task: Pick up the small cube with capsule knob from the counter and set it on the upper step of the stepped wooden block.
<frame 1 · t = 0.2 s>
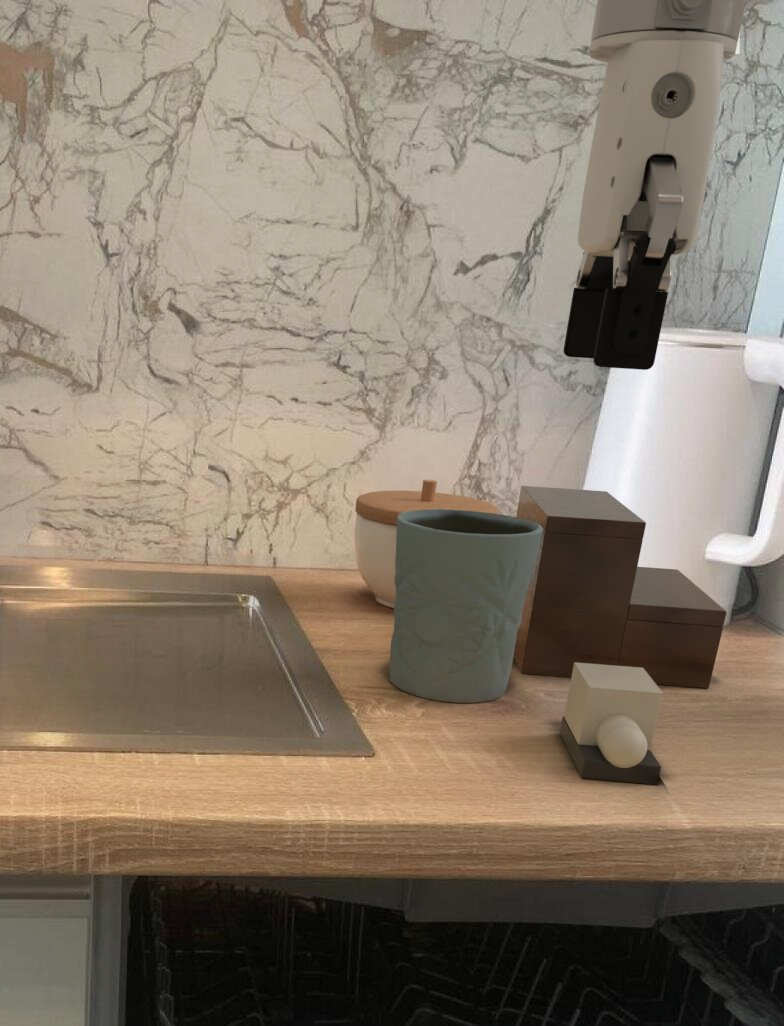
hand: (604, 362, 71), 23 cm above the countertop, tool pointing down, fingers open, 9 cm apart
stepped wooden block: (596, 654, 97), on the countertop
cube with capsule knob: (605, 757, 76), on the countertop
lidded bowl: (414, 604, 110), on the countertop
grey-green ceramic cup: (445, 685, 88), on the countertop
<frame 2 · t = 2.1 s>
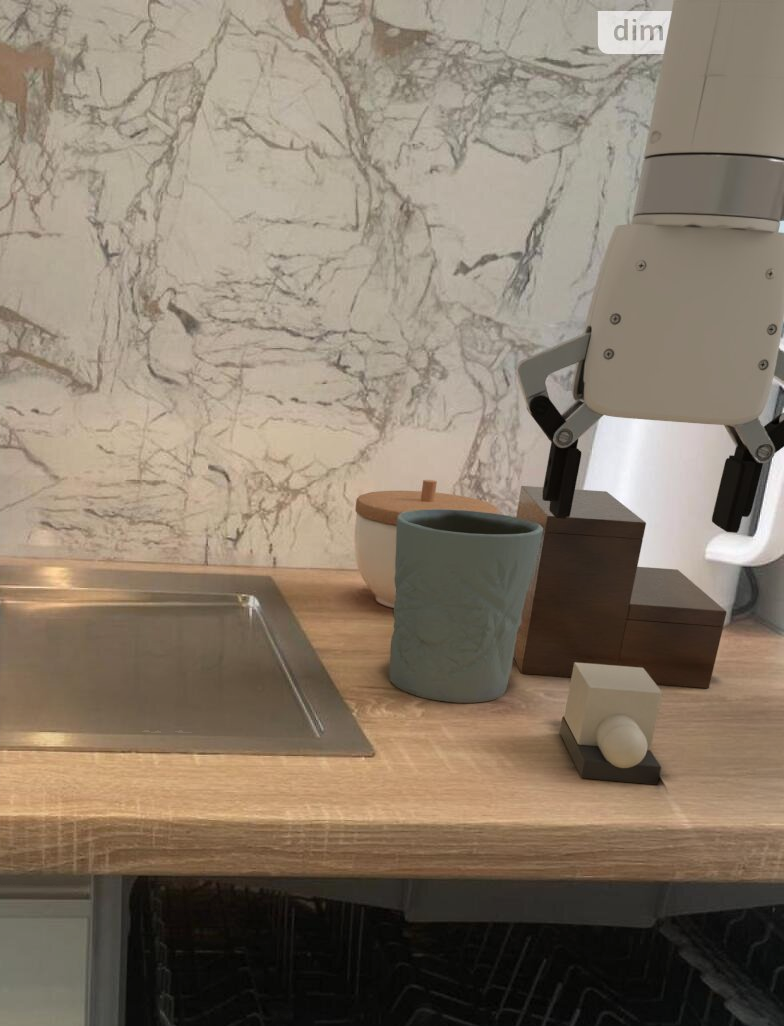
hand: (640, 521, 71), 15 cm above the countertop, tool pointing down, fingers open, 9 cm apart
nothing on the countertop moved.
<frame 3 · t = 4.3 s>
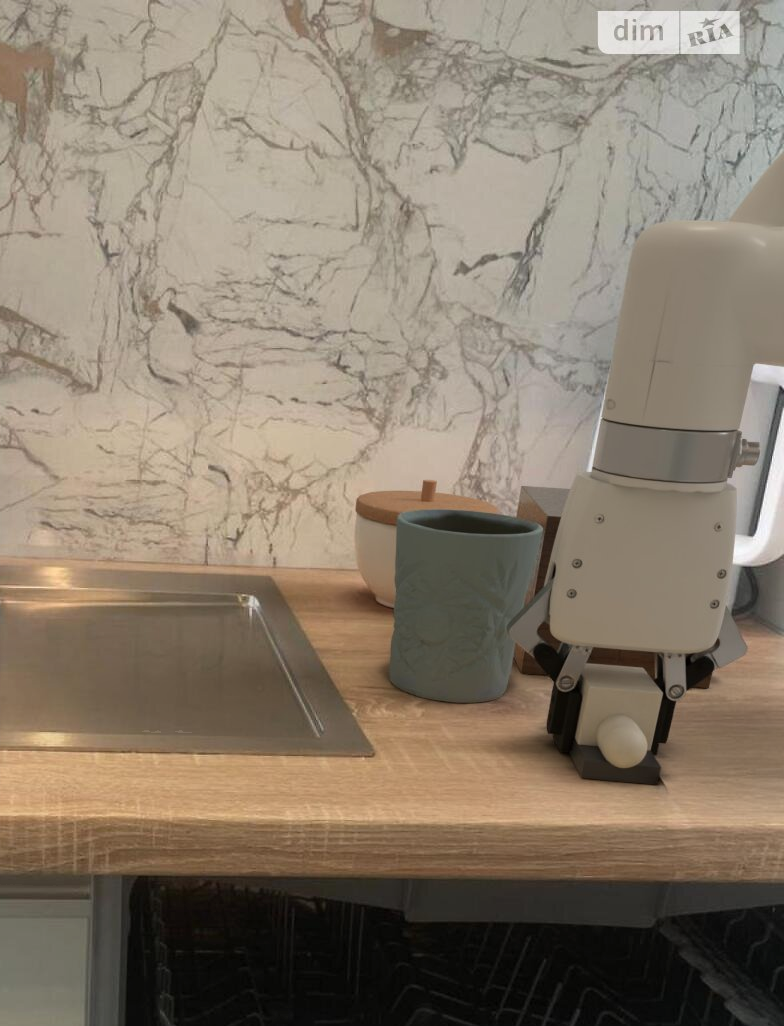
hand: (603, 745, 77), 0 cm above the countertop, tool pointing down, fingers closed on cube with capsule knob, 4 cm apart
cube with capsule knob: (605, 757, 76), on the countertop, touching gripper
everything else where it was.
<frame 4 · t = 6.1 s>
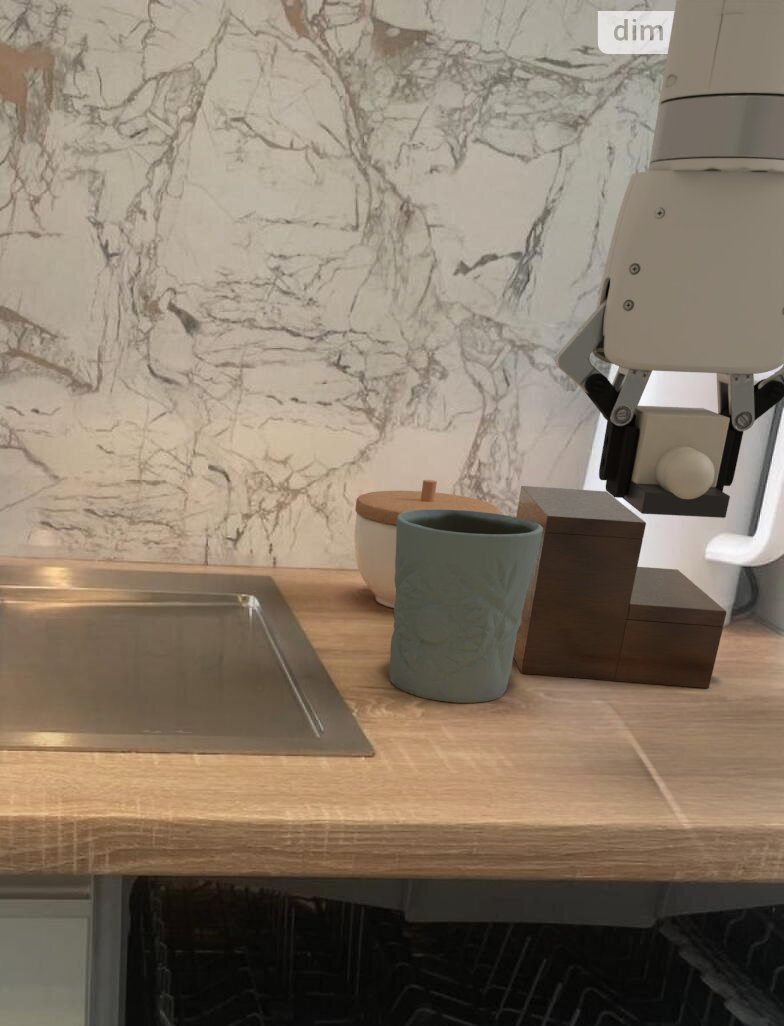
hand: (661, 492, 70), 16 cm above the countertop, tool pointing down, fingers closed on cube with capsule knob, 4 cm apart
cube with capsule knob: (665, 503, 69), point 16 cm above the countertop, touching gripper
everything else where it was.
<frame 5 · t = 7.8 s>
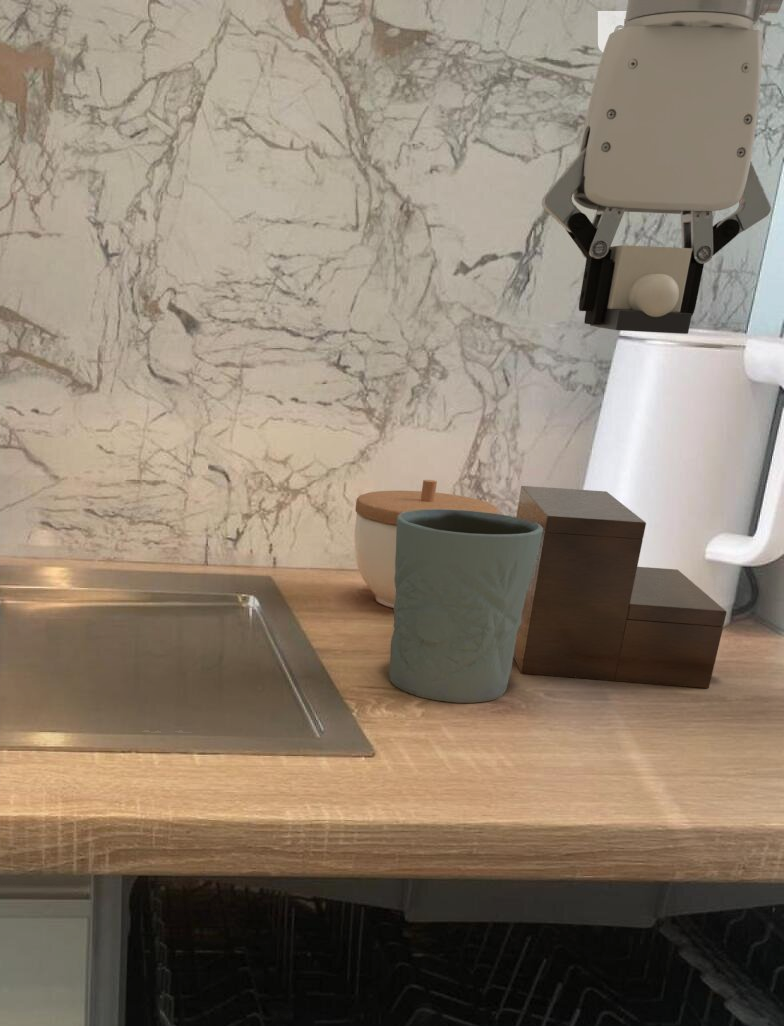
hand: (633, 323, 80), 25 cm above the countertop, tool pointing down, fingers closed on cube with capsule knob, 4 cm apart
cube with capsule knob: (636, 329, 79), point 25 cm above the countertop, touching gripper
everything else where it was.
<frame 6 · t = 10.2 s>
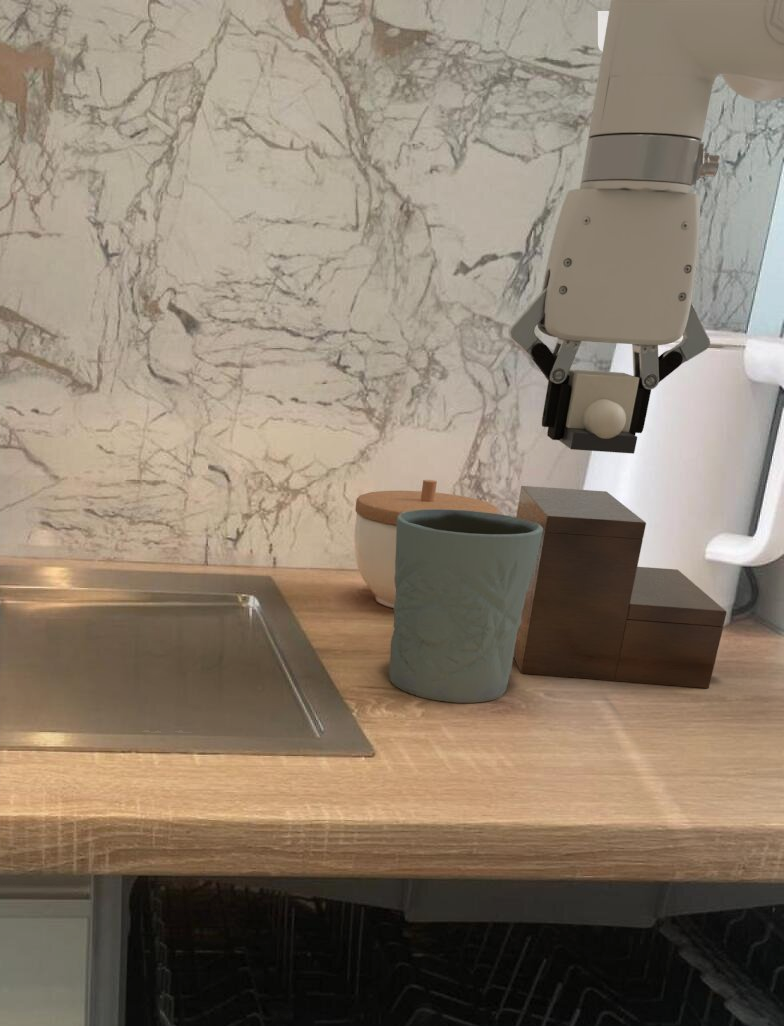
hand: (589, 437, 91), 17 cm above the countertop, tool pointing down, fingers closed on cube with capsule knob, 4 cm apart
cube with capsule knob: (591, 444, 90), point 17 cm above the countertop, touching gripper
everything else where it was.
when the fingers open (12 cm above the countertop, at t = 11.7 s): cube with capsule knob stays where it is, resting on stepped wooden block.
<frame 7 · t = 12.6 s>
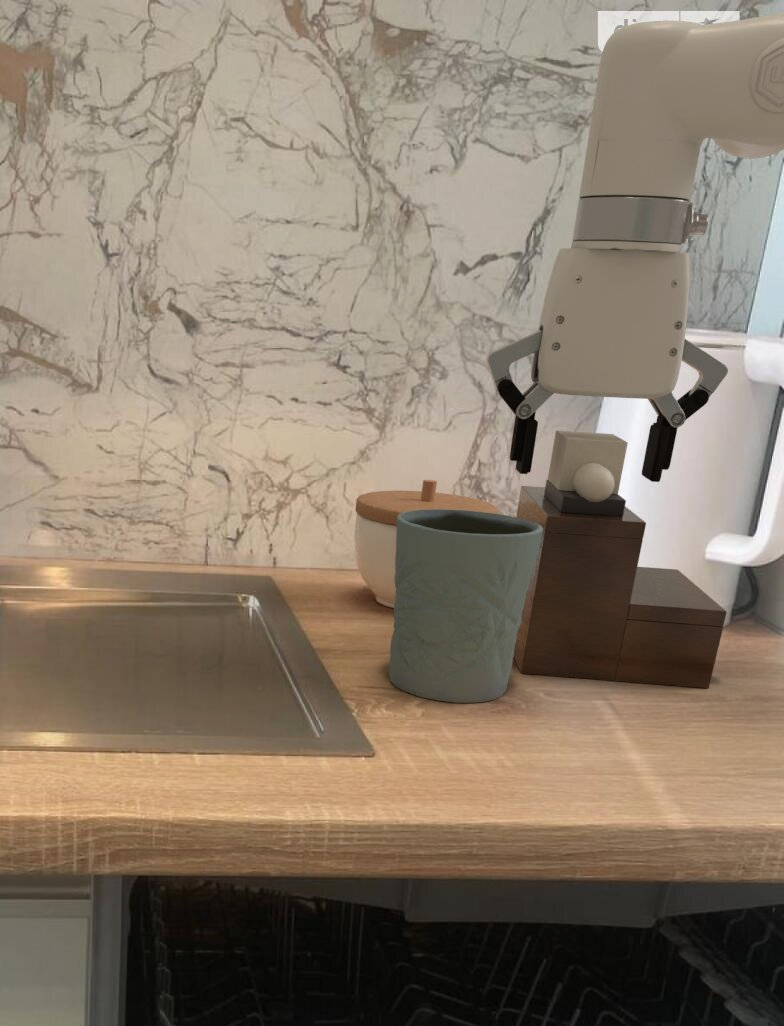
hand: (586, 475, 92), 14 cm above the countertop, tool pointing down, fingers open, 9 cm apart
cube with capsule knob: (581, 505, 91), point 12 cm above the countertop, touching stepped wooden block
everything else where it was.
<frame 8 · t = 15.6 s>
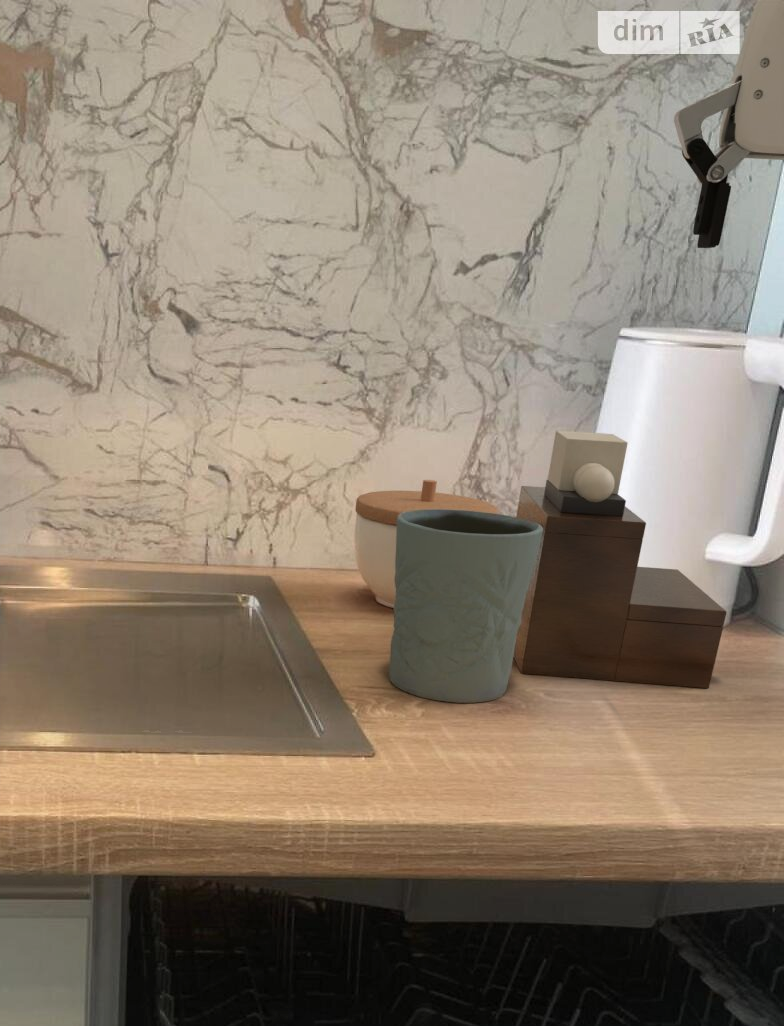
hand: (777, 250, 84), 30 cm above the countertop, tool pointing down, fingers open, 9 cm apart
nothing on the countertop moved.
at the end: cube with capsule knob inside the target area on the stepped wooden block (1.2 cm from its centre), point 12.0 cm above the stepped wooden block's base; cube with capsule knob tilted 0° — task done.
